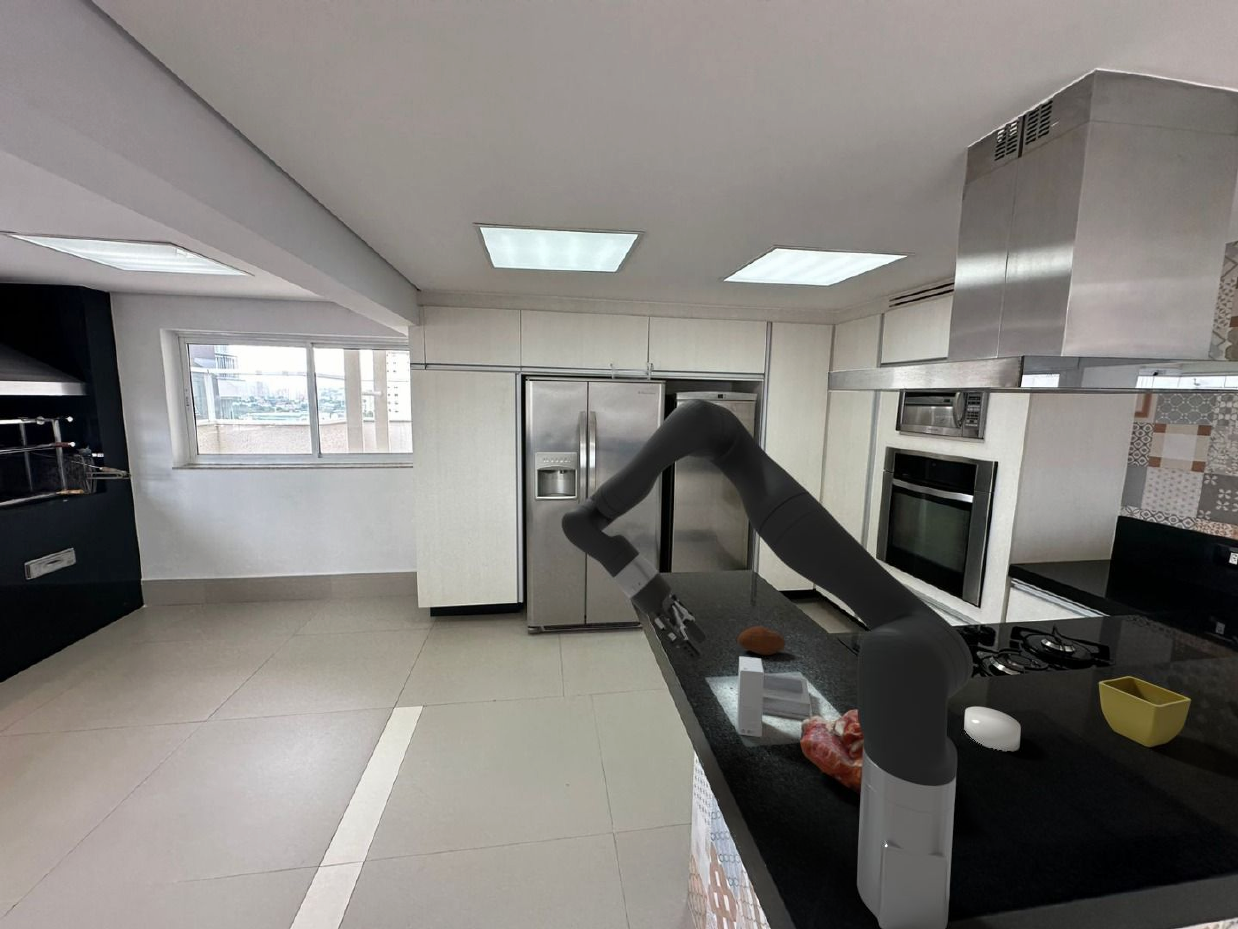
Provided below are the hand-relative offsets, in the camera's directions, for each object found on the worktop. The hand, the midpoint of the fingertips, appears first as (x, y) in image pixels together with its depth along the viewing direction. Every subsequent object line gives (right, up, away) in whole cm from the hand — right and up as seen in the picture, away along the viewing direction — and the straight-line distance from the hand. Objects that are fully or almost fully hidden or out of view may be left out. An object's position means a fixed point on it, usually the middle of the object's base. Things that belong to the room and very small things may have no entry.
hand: (701, 649), depth 93 cm
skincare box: (+9, -14, -2) cm, 17 cm away
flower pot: (+79, -15, -3) cm, 80 cm away
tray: (+17, -13, +8) cm, 23 cm away
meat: (+25, -15, -12) cm, 31 cm away
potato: (+20, -12, +30) cm, 38 cm away
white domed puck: (+52, -15, -4) cm, 54 cm away
